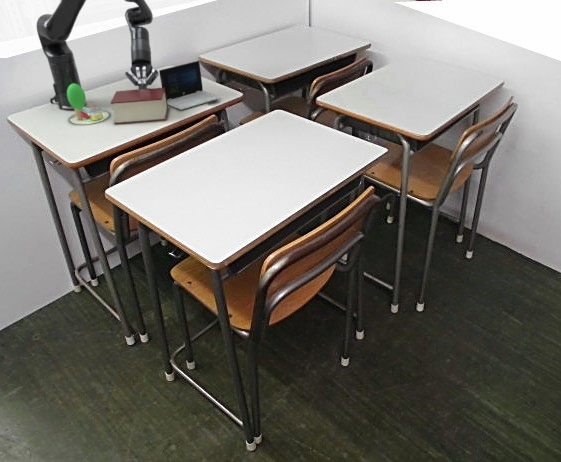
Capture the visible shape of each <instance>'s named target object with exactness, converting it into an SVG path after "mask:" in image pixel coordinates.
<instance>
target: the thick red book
mask: <svg viewBox="0 0 561 462" xmlns="http://www.w3.org/2000/svg"><path fill="white" fill-rule="evenodd" d="M110 105H111V107H112V111H113V116H114V120H115V122H114V125H122V124H136V123H150V122H160V121H166V120H167V115H168V110H169V105H168V104H167V98H166V92H165V88H162V87H155V88H154V87H153V88H147V89H139V88H138V89H129V90H116V91H115V93H114V95H113V97H112V99H111V100H110Z"/></svg>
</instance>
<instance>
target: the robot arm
mask: <svg viewBox="0 0 561 462" xmlns="http://www.w3.org/2000/svg"><path fill="white" fill-rule="evenodd" d="M86 2H87V0H60V1H59V3H58V5H57V7H56V8H55V10H54V12H53V13H45V14H42V15H40V16H39V17H38V19H37V21H36V32H37V36H38V39H39V42H40V46H41V48H42V51H43V54H44V55H45V57H46V59H47V61H48V66H49V70H50V73H51V77H52V80H53V83H52V87H53V90H54V96H53V97H51V98H50V99H49V102H50V104H53V103H57V104H58V108H59V109H60V110H74V107H73V106H72V105H71V104H70V102H69V100H68V97H67V89H68V87H69V86H70V85H71V84H78V85H79V86H80V87H81V88H82V89H83V87H82V84H81V79H80V75H79V71H78V67H77V63H76V60H75V56H74V52H73V50H71V48H70V47H69V45H68V43H67V40H68V39H69V37H70V35H71V33H72V31H73V28H74V26H75V23H76V21H77V19H78V16H79V14H80V13H81V11H82V9H83V7H84V5H85V3H86ZM124 2H126V3H133V4H135V5H136V6H134V7H130V8H129V7H128V8H127V9H126V11H125V13H124V18H125V21H126V24H127V26H128V31H129V33H130V60H131V67H130V70H129V71H126V72H125V77H126V78H127V79H128V80H129V81H130V83H132V84H133V85H134V87H138V90H139V89H148V86H151V85H153V83H154V82H155V81H156V79H157V78H158V77H159V76H160V74H159V70H157V69H154V68H153V64H152V51H151V49H152V48H151V44H150V33H149V30H148V29H147V28H146V27H145V26H147V25H151V24H152V23H153V19H154V15H153V12H152V9H151V8H150V7H149V5H148V3H147V2H146V0H124ZM133 75H134V76H133ZM134 77H135V78H137V80H136V79H135V78H134ZM86 104H87V101H86V102H85V105H86Z"/></svg>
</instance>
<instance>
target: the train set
mask: <svg viewBox="0 0 561 462" xmlns="http://www.w3.org/2000/svg"><path fill="white" fill-rule="evenodd" d="M81 87H82V86H81ZM81 87H80V86H79V85H78V84H71V85H70V86H69V87H68V89H67V97H68V100H69V102H70V104H71V105H72V106H73V107H74V109H73V110H74V113H75V116H74V117H70V119H69V121H70V123H73V124H74V125H75V124H76V125H93V124H97V123H100V122H103V121H104V120H106V119H108V118H109V116H110V114H109V112H108V111H105V110H102V107H98V106H97V105H94V106H93V104H92V102H90V101H87V100H86V99H87V98H86V94H85V91H84V89H83V87H82V88H81ZM85 102H86V104H87V105H88V106H89V107H86V106H85V105H86V104H85Z"/></svg>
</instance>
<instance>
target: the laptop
mask: <svg viewBox="0 0 561 462" xmlns="http://www.w3.org/2000/svg"><path fill="white" fill-rule="evenodd" d="M201 72H202V71H201V63H200V60H195V61H191V62H187V63H183V64H179V65H175V66H171V67H170V66H169V67H167V68H162V69H159V70H158V73H159V79H160V80H159V81H160V83H161V88H165V92H166V98H167V104H168V106H170V107H172V108H175V109H178V110H180V111H183V110H187V109H190V108H194V107H197V106H200V105H203V104H207V103H210V102H215V101H217V100H219V99H220V97H219V96H217V95H215V94H213V93H210V92H207V91H204V87H203V80H202V73H201Z"/></svg>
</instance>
